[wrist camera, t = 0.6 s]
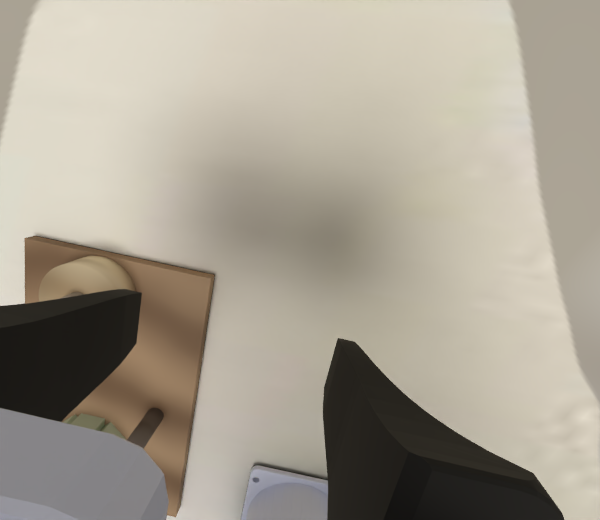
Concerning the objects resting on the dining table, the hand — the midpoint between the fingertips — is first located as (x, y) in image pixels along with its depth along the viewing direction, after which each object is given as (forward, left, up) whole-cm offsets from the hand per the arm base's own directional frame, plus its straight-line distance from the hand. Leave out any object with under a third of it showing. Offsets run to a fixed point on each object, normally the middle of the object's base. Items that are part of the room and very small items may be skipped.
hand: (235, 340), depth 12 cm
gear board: (-11, +10, -10) cm, 18 cm away
